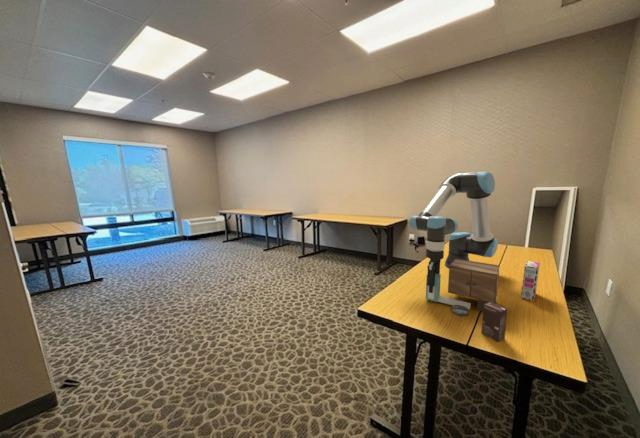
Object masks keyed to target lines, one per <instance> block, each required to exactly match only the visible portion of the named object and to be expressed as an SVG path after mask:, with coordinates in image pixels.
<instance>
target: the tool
mask: <svg viewBox="0 0 640 438" xmlns="http://www.w3.org/2000/svg"><path fill="white" fill-rule="evenodd" d="M441 276H442V275H441V273H440V274H435V283H434V286H435V294H434V300H433V299H430V298H428V285H425V300H428V301H431V302H434V303H438V302H439V303H442V304H445V305H450V306H453V305H461V306H464V307H466V308H468V311H469V310H470V309H471V307H472V306H471V305H472V303H471V302H468V301H463V300H460V299H455V298H452V297H447V296H442V295H440V294H441V293H440V292H441ZM425 281H426V284H427V278H426V280H425Z"/></svg>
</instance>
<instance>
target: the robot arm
mask: <svg viewBox="0 0 640 438" xmlns="http://www.w3.org/2000/svg"><path fill="white" fill-rule="evenodd" d="M495 185H496V182H495V177H494V175H493V174H492V173H491V172H490V171H481V170H480V171H470V172H469V171H467V172H458V173H457V172H456V173H454V174H453V175H451V176H449V177H447V178H446V179H444V181H442V183H440V185H439V186H438V190H437V191H436V193H434V195H433V197H432V198H431V200H429V202H428V203H426V206H424V208H423V209H422V211H421V212H420V213H419V214H418V215H412V216H411V217H410V218H409V227H410V228H411V229H412V230H416V231H421V232H422V231H423V232H426V240H425V244H426V247H425V248H426V249H425V257H426V258H427V259H429V260H428V265H427V274H426V279H427V284H426V285H428V298H430V299H433V300H434V294H435V286H434V283H435V274H441V273H440V272H441V270H440V269H441V261H442V260H443V259H444V256H445V243H446V242H445V238H446V237H445V236H446V235H449V239H448V253H447V254H448V255H447V256H446V258H445V262H444V266H445V267H447V268H448V269H449V266H450V265H451V264H452V262H453V261H454V260H455V259H462V260H468V261H471V260H470V258H469V255H475V256H479V257H483V258H492V257H494V255H496V252H497V249H498V246H499V240H498V239H496V238H495V237H494V234H493V233H491V227H490V226H491V225H490V211H489V209H490V207H489V198H490V196H492V193H493V192H494V191H495V189H496V188H495V187H496V186H495ZM460 193H462V194H465V195H466V198H467V199H469V202H470V203H469V204H470V215H471V224H472V234H471V233H470V232H467V231H461V232H460V231H459V232H458V231H457V230H458V228H459V224H458V221H457V220H456V219H455V218H452V217H445V216H441V215H439V214H440V212H441V211H442V210H443V208H444V207H445V206H446V204H447V203H448V202H449V200H450V199H451V198H452V197H453V196H455V195H456V194H460ZM438 215H439V216H438ZM456 231H457V232H456ZM426 285H425V286H426Z"/></svg>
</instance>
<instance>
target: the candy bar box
mask: <svg viewBox="0 0 640 438" xmlns="http://www.w3.org/2000/svg"><path fill="white" fill-rule="evenodd" d="M540 264H541V263H540V262H536V261H532V260H531V261H530V260H527V261H526V263H525V265H524V272H523V278H522V279H523V280H522V285H521V286H522V287H521V296H520V298H521V299H524V300H527V301H531V302H534V300H535V297H536V294H537V286H538V281H539V271H540V266H541V265H540Z"/></svg>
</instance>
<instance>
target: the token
mask: <svg viewBox="0 0 640 438" xmlns="http://www.w3.org/2000/svg"><path fill="white" fill-rule="evenodd" d="M451 306H452V310H451V312H452V313H453V314H454V315H455V316H459V317H467V316H468V315H469V310H468V308H466V307H464V306H461V305H451Z"/></svg>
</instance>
